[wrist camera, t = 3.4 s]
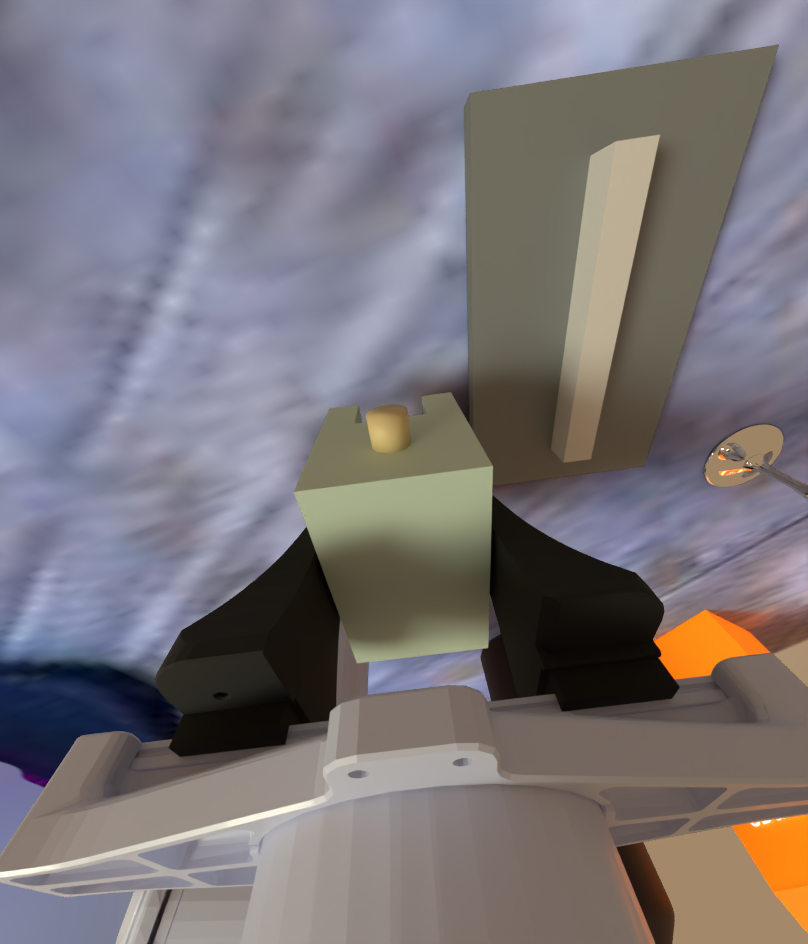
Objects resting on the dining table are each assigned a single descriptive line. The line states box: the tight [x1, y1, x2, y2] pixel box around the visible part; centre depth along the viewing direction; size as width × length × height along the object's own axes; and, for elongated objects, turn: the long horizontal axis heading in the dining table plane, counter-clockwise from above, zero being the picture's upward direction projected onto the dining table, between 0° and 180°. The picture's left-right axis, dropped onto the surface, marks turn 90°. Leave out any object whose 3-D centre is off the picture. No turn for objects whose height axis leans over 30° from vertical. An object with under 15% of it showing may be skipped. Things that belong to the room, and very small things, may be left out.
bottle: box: [481, 635, 674, 944], centre depth 22 cm, size 7×7×20 cm
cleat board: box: [464, 45, 779, 486], centre depth 14 cm, size 16×10×2 cm, turn 7°
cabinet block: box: [294, 392, 493, 663], centre depth 12 cm, size 9×5×6 cm, turn 7°
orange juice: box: [654, 610, 808, 933], centre depth 23 cm, size 8×9×20 cm
